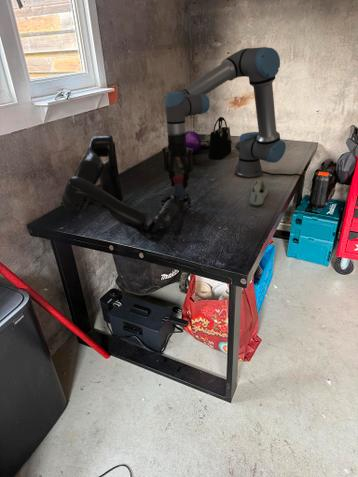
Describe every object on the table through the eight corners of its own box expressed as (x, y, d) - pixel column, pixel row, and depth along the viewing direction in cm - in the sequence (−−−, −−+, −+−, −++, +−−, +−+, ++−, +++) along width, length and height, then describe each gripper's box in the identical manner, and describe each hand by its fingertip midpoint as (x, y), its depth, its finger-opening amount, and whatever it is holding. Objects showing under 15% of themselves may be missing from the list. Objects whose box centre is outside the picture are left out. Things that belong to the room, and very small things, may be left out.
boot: (194, 157, 223) (193, 127, 213) (188, 169, 203) (187, 135, 193) (182, 157, 225) (180, 127, 215) (174, 168, 205) (172, 136, 194)
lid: (179, 184, 143) (179, 179, 142) (170, 181, 146) (170, 177, 145) (187, 180, 146) (187, 176, 145) (178, 178, 149) (178, 173, 148)
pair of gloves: (198, 150, 238) (197, 143, 235) (183, 143, 258) (183, 136, 256) (233, 144, 247) (234, 137, 245) (217, 137, 268) (217, 131, 265)
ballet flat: (269, 188, 169) (270, 173, 165) (265, 208, 149) (266, 191, 145) (252, 187, 171) (253, 172, 167) (246, 206, 151) (247, 190, 147)
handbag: (219, 160, 215) (219, 120, 202) (207, 158, 219) (206, 119, 207) (232, 152, 230) (233, 114, 217) (220, 150, 234) (221, 113, 222)
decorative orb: (204, 151, 235) (204, 129, 228) (194, 156, 225) (193, 134, 217) (186, 149, 243) (186, 128, 235) (175, 154, 232) (174, 132, 224)
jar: (174, 209, 154) (171, 177, 146) (182, 206, 156) (181, 175, 148) (178, 212, 150) (176, 180, 142) (187, 210, 152) (186, 178, 144)
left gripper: (155, 217, 142) (167, 201, 156) (187, 220, 138) (197, 203, 152) (154, 201, 138) (166, 186, 152) (186, 203, 134) (196, 188, 148)
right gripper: (200, 132, 135) (201, 185, 147) (160, 130, 142) (164, 181, 153) (194, 136, 129) (195, 191, 141) (152, 134, 136) (157, 187, 147)
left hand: (181, 195), depth 152 cm, fingers closed on jar, 4 cm apart
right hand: (179, 186), depth 147 cm, fingers closed on lid, 5 cm apart
